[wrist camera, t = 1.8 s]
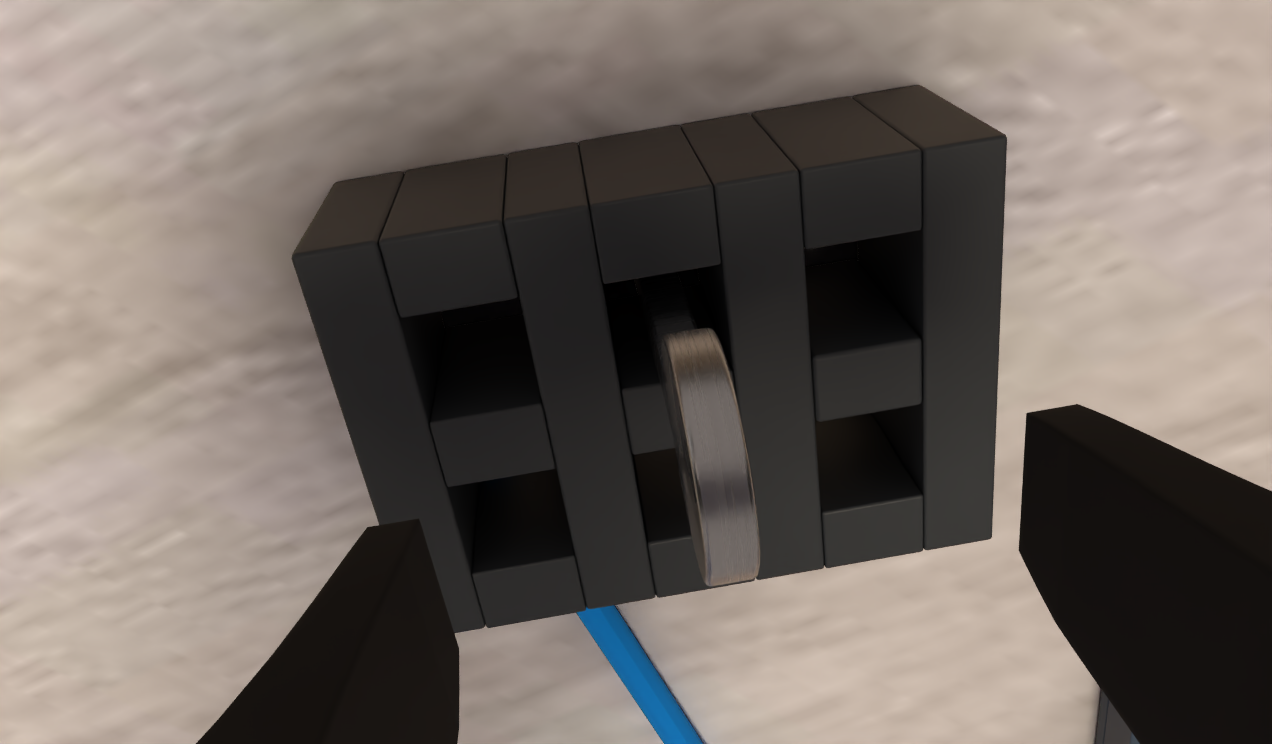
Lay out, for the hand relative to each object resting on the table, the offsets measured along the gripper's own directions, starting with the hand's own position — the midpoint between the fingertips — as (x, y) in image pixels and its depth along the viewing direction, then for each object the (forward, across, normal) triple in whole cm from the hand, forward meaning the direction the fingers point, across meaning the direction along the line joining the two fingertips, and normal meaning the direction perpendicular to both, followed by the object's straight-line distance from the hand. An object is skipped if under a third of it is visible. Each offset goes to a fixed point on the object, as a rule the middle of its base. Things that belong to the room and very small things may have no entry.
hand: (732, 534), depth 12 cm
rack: (+10, 0, +2) cm, 10 cm away
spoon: (+10, 0, 0) cm, 10 cm away
